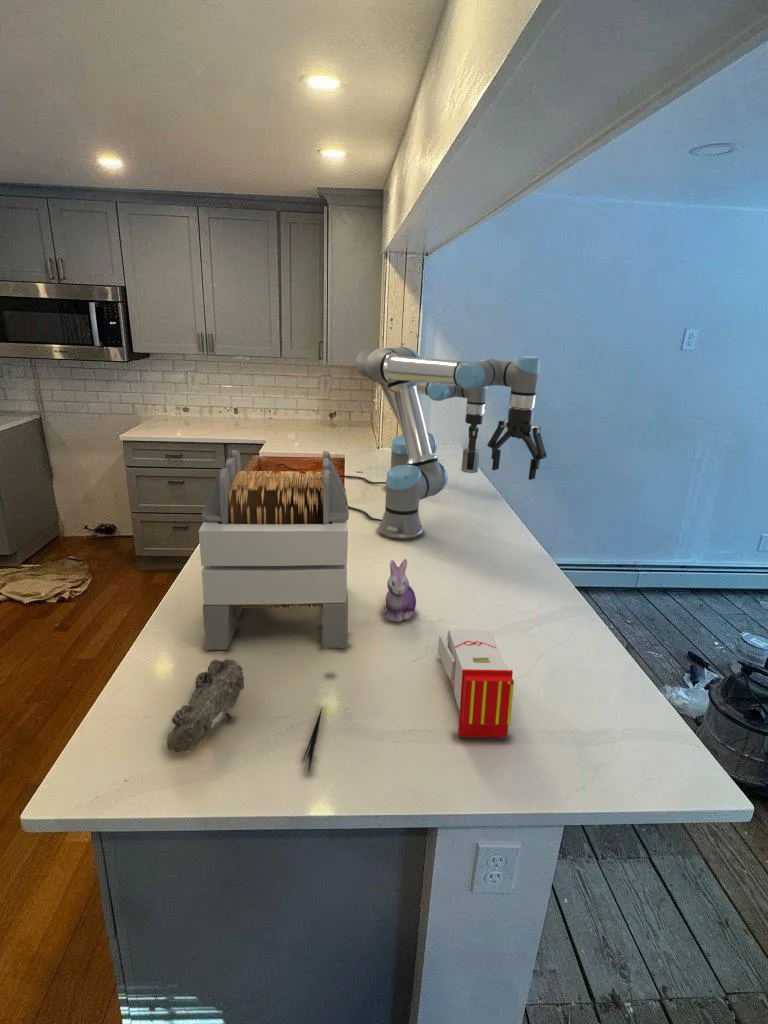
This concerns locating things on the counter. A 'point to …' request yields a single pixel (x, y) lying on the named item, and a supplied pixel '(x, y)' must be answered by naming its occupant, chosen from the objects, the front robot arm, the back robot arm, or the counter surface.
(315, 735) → the feather
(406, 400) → the front robot arm
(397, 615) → the figurine
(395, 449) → the back robot arm
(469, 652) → the toy
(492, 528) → the counter surface
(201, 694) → the fossil
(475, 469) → the can
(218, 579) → the record crate
